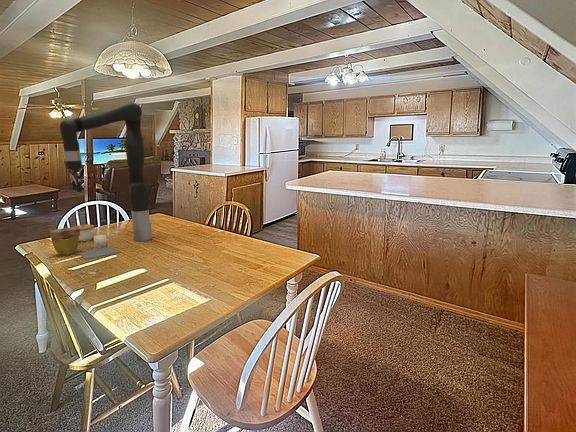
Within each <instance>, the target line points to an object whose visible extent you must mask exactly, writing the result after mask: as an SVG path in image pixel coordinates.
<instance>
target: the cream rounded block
mask: <svg viewBox="0 0 576 432" xmlns="http://www.w3.org/2000/svg"><path fill="white" fill-rule="evenodd" d="M92 238H93V245H94V248H95V249H101V248H107V247H108V242H107V234H94V236H93V237H92Z"/></svg>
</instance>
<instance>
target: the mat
mask: <svg viewBox="0 0 576 432" xmlns="http://www.w3.org/2000/svg"><path fill="white" fill-rule="evenodd" d="M119 253H120V251H119V250H117V249H116V248H114V247H113V246H107V247H105V248H95V249H92V250H88V251H87V250H86V251H81V252H78V255H79V254H80V255H79V256H81V257H82V258H83V259H84V260H86V261H87V260H91V259H95V257H96V258H100V257H101V258H102V257H106V256H111V255H116V254H119ZM90 258H91V259H90Z"/></svg>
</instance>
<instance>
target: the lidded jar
mask: <svg viewBox="0 0 576 432" xmlns="http://www.w3.org/2000/svg"><path fill="white" fill-rule="evenodd" d="M74 227H78V228H79V230H80V236H79V242H89V241H91V240H92V238H94V237H93V236H95V225H94V224H85V223H81V224H79V225H75V226H74Z"/></svg>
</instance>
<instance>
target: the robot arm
mask: <svg viewBox="0 0 576 432" xmlns="http://www.w3.org/2000/svg"><path fill="white" fill-rule="evenodd" d="M142 112H143V111H142V108H141V106H140V104H137V103H136V102H132V101H130V102H127V103H126V104H124V105H122V106H119V107H116V108H113V109H110V110H105V111H100V112H95V113H91V114H86V115H83V116H80V117H76V118H72V119H64V120H62V121H61V122H60V124H59V129H60V134H61V137H62V146H63V155H64V157H63V158H64V163H65V164H64V165H65V169H66V170H68V175H69V182H70V183H71V188H72V190H73V191H76V193H77V192H78V193H82V191H83V189H82V184H83V178H82V171H79V170H81V169H83V161H82V154H81V151H80V143H79V141H78V135H77V134H78V133H80V132H82V131H88V130H93V129H98V128H100V127H104V126H107V125H110V124H113V123H117V122H124V123H125V128H126V132H125V154H126V163H127V168H128V193H129V194H130V202H131V203H130V212H131V224H132V234H133V241H135V242H145V241H149V240H153V230H152V222H150V220H151V219H150V212H149V211H150V210H149V209H150V207H149V206H150V205H149V204H150V198H149V197H150V196H149V189H148V186H147V185H146V183H145V180H144V179H145V178H144V165H145V158H146V157H145V146H144V145H145V144H144V140H143V136H142V131H141V129H142V128H141V125H142V124H141V121H142Z"/></svg>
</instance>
